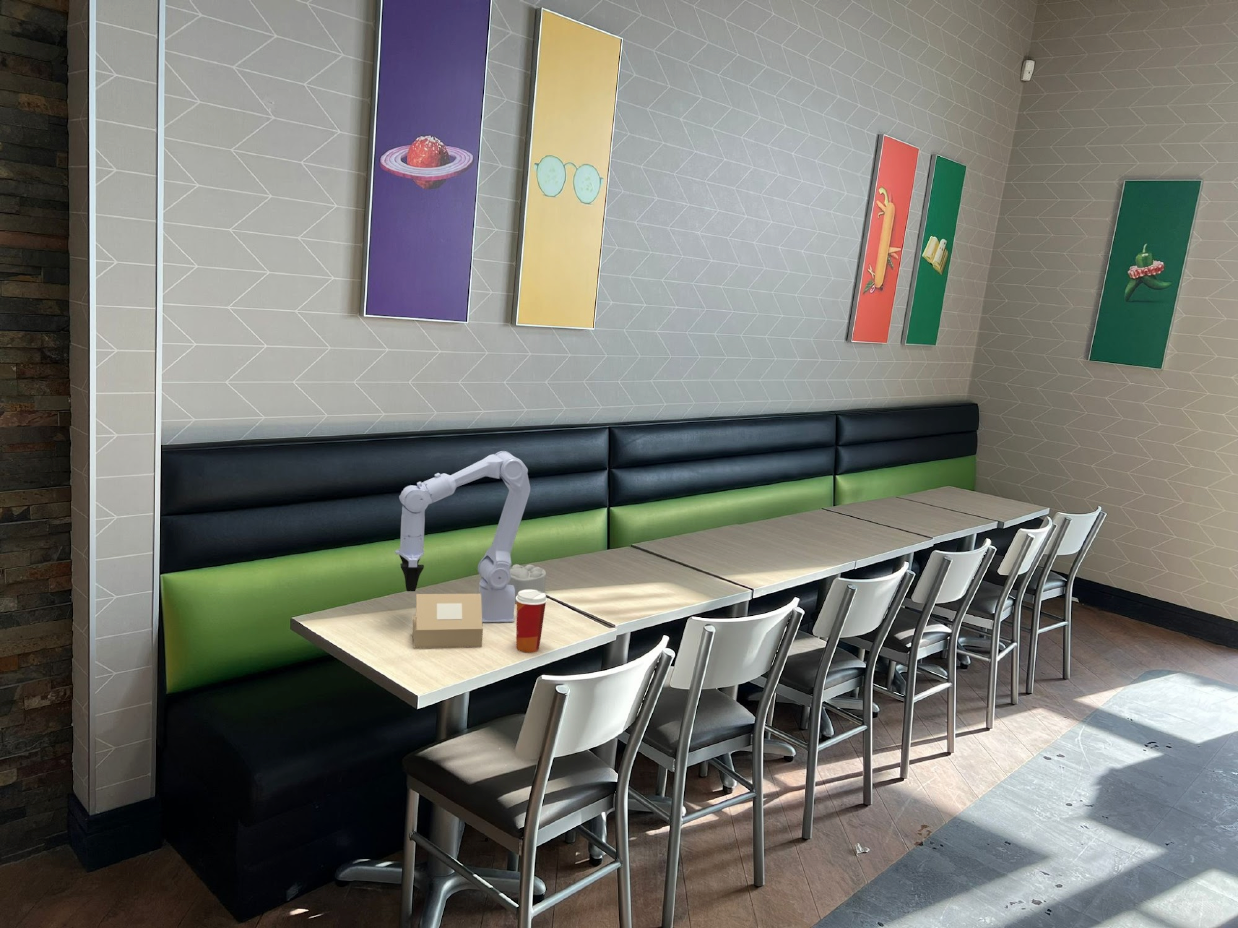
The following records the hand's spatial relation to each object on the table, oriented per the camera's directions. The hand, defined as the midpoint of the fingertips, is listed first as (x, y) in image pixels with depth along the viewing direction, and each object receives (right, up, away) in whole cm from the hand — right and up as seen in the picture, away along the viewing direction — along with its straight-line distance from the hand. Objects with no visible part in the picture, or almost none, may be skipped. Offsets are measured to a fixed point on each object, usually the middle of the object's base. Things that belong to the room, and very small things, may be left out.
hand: (410, 585), depth 231 cm
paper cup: (+30, -15, -7) cm, 34 cm away
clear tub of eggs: (+26, -7, +30) cm, 40 cm away
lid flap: (+12, -5, -9) cm, 16 cm away
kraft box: (+10, -13, -6) cm, 17 cm away
